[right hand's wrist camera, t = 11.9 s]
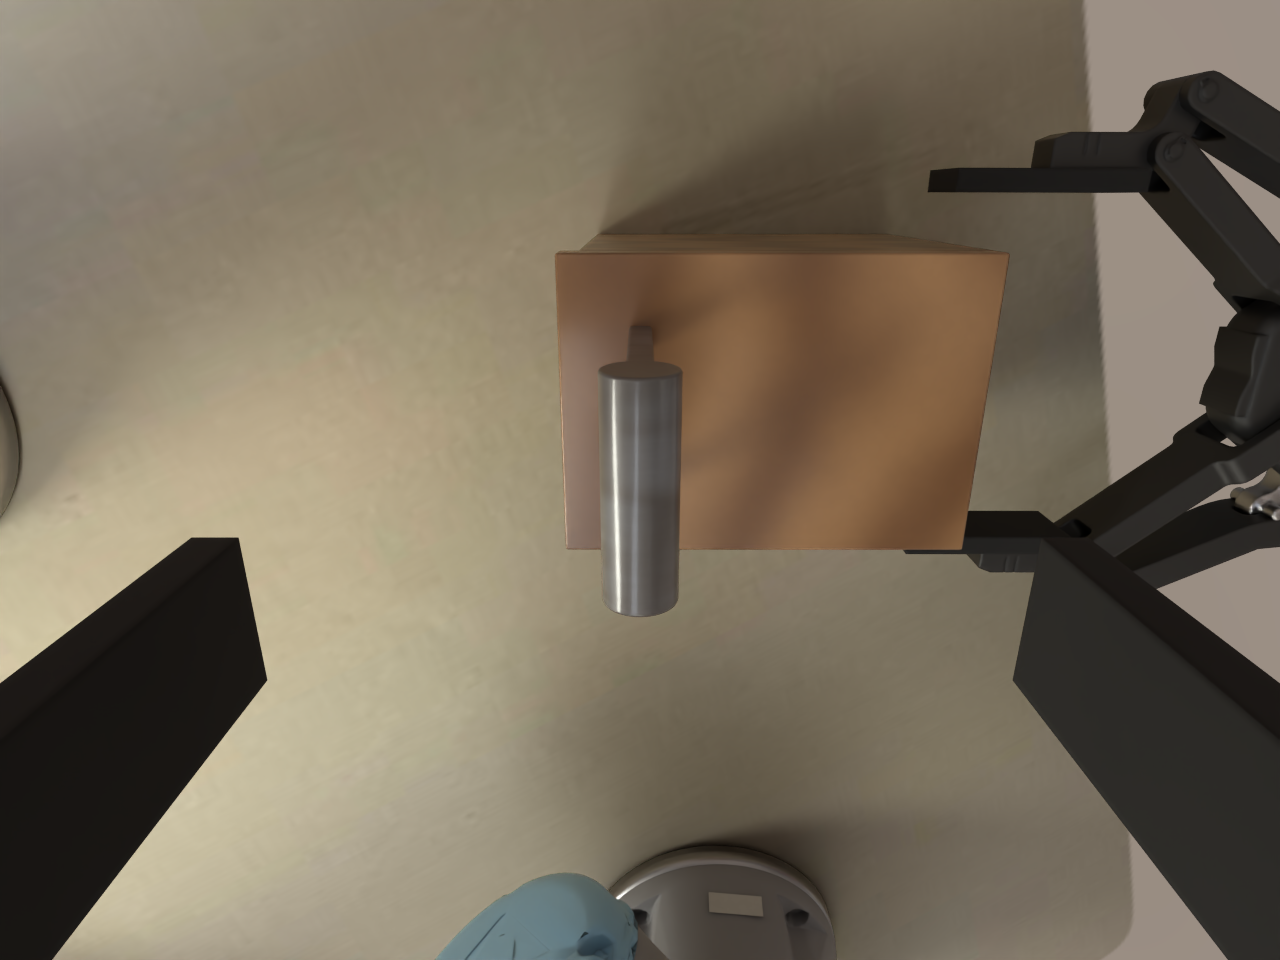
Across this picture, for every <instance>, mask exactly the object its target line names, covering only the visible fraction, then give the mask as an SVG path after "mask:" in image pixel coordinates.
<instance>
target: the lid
mask: <svg viewBox="0 0 1280 960" xmlns="http://www.w3.org/2000/svg"><path fill="white" fill-rule="evenodd" d="M1009 257H1010V255H1009V253H1006V252H999V251H559V252H557V253H556V254H555V271H556V297H557V324H558V351H559V377H560V404H561V431H562V457H563V484H564V510H565V537H566V548H567V549H601V569H602V599H603V602H604V604H605V605H606V606H607V607H608V608H609V609H610V610H612V611H614V612H616V613H619V614H622V615H626V616H633V617H648V616H654V615H658V614H662V613H664V612H666V611H668V610H670V609H671V608H673V607H674V606H675V604H676V603H677V601H678V588H679V549H871V550H960V549H962V545H963V539H964V533H965V527H966V520H967V514H968V508H969V502H970V496H971V490H972V484H973V477H974V471H975V465H976V459H977V453H978V447H979V441H980V435H981V428H982V422H983V416H984V410H985V404H986V398H987V392H988V385H989V379H990V373H991V367H992V361H993V355H994V349H995V343H996V336H997V330H998V324H999V318H1000V312H1001V306H1002V300H1003V293H1004V287H1005V281H1006V275H1007V269H1008V263H1009Z"/></svg>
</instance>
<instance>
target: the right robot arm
mask: <svg viewBox="0 0 1280 960" xmlns="http://www.w3.org/2000/svg"><path fill="white" fill-rule="evenodd" d="M18 464H19V450H18V440H17V433H16V428H15V424H14V420H13V416H12V413H11V410H10V407H9V404H8V402H7V399H6V397H5V395H4V393H3V390H2V388H1V386H0V517H1V515H2V514H3V512H4V511H5V509H6V507H7V505H8V503H9V501H10V499H11V497H12V494H13V491H14V488H15V485H16V480H17V474H18ZM266 681H267V676H266V671H265V666H264V661H263V657H262V652H261V647H260V642H259V637H258V632H257V627H256V622H255V617H254V612H253V607H252V602H251V597H250V592H249V587H248V582H247V577H246V572H245V568H244V563H243V558H242V553H241V548H240V543H239V538H190V539H189V540H188V541H187V542H185V543H184V544H183V545H181V546H180V547H179V548H177V549H176V550H175V551H173V552H172V553H171V554H169V555H168V556H167V557H166V558H164V559H163V560H162V561H160V562H159V563H158V564H156V565H155V566H154V567H152V568H151V569H150V570H148V571H147V572H146V573H144V574H143V575H142V576H141V577H139V578H138V579H137V580H135V581H134V582H133V583H131V584H130V585H129V586H127V587H126V588H125V589H123V590H122V591H121V592H120V593H118V594H117V595H116V596H114V597H113V598H112V599H110V600H109V601H108V602H106V603H105V604H104V605H102V606H101V607H100V608H99V609H97V610H96V611H95V612H93V613H92V614H91V615H89V616H88V617H87V618H85V619H84V620H83V621H81V622H80V623H79V624H78V625H76V626H75V627H74V628H72V629H71V630H70V631H68V632H67V633H66V634H64V635H63V636H62V637H60V638H59V639H58V640H56V641H55V642H54V643H53V644H51V645H50V646H49V647H47V648H46V649H45V650H43V651H42V652H41V653H39V654H38V655H37V656H35V657H34V658H33V659H32V660H30V661H29V662H28V663H26V664H25V665H24V666H22V667H21V668H20V669H18V670H17V671H16V672H14V673H13V674H12V675H11V676H9V677H8V678H7V679H5V680H4V681H3V682H1V683H0V960H52V959H53V958H54V957H55V955H56V954H57V953H58V951H59V950H60V949H61V947H62V946H63V945H64V944H65V942H66V941H67V940H68V938H69V937H70V936H71V934H72V933H73V932H74V931H75V929H76V928H77V927H78V925H79V924H80V923H81V921H82V920H83V919H84V918H85V916H86V915H87V914H88V912H89V911H90V910H91V908H92V907H93V906H94V905H95V903H96V902H97V901H98V899H99V898H100V897H101V896H102V894H103V893H104V892H105V890H106V889H107V888H108V886H109V885H110V884H111V883H112V881H113V880H114V879H115V877H116V876H117V875H118V873H119V872H120V871H121V870H122V868H123V867H124V866H125V864H126V863H127V862H128V860H129V859H130V858H131V857H132V855H133V854H134V853H135V851H136V850H137V849H138V847H139V846H140V845H141V844H142V842H143V841H144V840H145V838H146V837H147V836H148V834H149V833H150V832H151V831H152V829H153V828H154V827H155V825H156V824H157V823H158V821H159V820H160V819H161V818H162V816H163V815H164V814H165V812H166V811H167V810H168V809H169V807H170V806H171V805H172V803H173V802H174V801H175V799H176V798H177V797H178V796H179V794H180V793H181V792H182V790H183V789H184V788H185V786H186V785H187V784H188V783H189V781H190V780H191V779H192V777H193V776H194V775H195V773H196V772H197V771H198V770H199V768H200V767H201V766H202V764H203V763H204V762H205V760H206V759H207V758H208V757H209V755H210V754H211V753H212V751H213V750H214V749H215V747H216V746H217V745H218V744H219V742H220V741H221V740H222V738H223V737H224V736H225V734H226V733H227V732H228V731H229V729H230V728H231V727H232V725H233V724H234V723H235V722H236V720H237V719H238V718H239V716H240V715H241V714H242V712H243V711H244V710H245V709H246V707H247V706H248V705H249V703H250V702H251V701H252V699H253V698H254V697H255V696H256V694H257V693H258V692H259V690H260V689H261V688H262V686H263V685H264V684H265V683H266ZM1013 681H1014V683H1015V684H1016V685H1017V686H1018V688H1019V689H1020V690H1021V692H1022V693H1023V694H1024V696H1025V697H1026V698H1027V699H1028V701H1029V702H1030V703H1031V705H1032V706H1033V707H1034V709H1035V710H1036V711H1037V712H1038V714H1039V715H1040V716H1041V718H1042V719H1043V720H1044V722H1045V723H1046V724H1047V725H1048V727H1049V728H1050V729H1051V731H1052V732H1053V733H1054V734H1055V736H1056V737H1057V738H1058V740H1059V741H1060V742H1061V744H1062V745H1063V746H1064V747H1065V749H1066V750H1067V751H1068V753H1069V754H1070V755H1071V757H1072V758H1073V759H1074V760H1075V762H1076V763H1077V764H1078V766H1079V767H1080V768H1081V770H1082V771H1083V772H1084V773H1085V775H1086V776H1087V777H1088V779H1089V780H1090V781H1091V783H1092V784H1093V785H1094V786H1095V788H1096V789H1097V790H1098V792H1099V793H1100V794H1101V796H1102V797H1103V798H1104V799H1105V801H1106V802H1107V803H1108V805H1109V806H1110V807H1111V809H1112V810H1113V811H1114V812H1115V814H1116V815H1117V816H1118V818H1119V819H1120V820H1121V821H1122V823H1123V824H1124V825H1125V827H1126V828H1127V829H1128V831H1129V832H1130V833H1131V834H1132V836H1133V837H1134V838H1135V840H1136V841H1137V842H1138V844H1139V845H1140V846H1141V847H1142V849H1143V850H1144V851H1145V853H1146V854H1147V855H1148V857H1149V858H1150V859H1151V860H1152V862H1153V863H1154V864H1155V866H1156V867H1157V868H1158V870H1159V871H1160V872H1161V873H1162V875H1163V876H1164V877H1165V879H1166V880H1167V881H1168V883H1169V884H1170V885H1171V886H1172V888H1173V889H1174V890H1175V892H1176V893H1177V894H1178V896H1179V897H1180V898H1181V899H1182V901H1183V902H1184V903H1185V905H1186V906H1187V907H1188V908H1189V910H1190V911H1191V912H1192V914H1193V915H1194V916H1195V918H1196V919H1197V920H1198V921H1199V923H1200V924H1201V925H1202V927H1203V928H1204V929H1205V931H1206V932H1207V933H1208V934H1209V936H1210V937H1211V938H1212V940H1213V941H1214V942H1215V944H1216V945H1217V946H1218V947H1219V949H1220V950H1221V951H1222V953H1223V954H1224V955H1225V957H1226V958H1227V959H1228V960H1280V683H1279V682H1277V681H1276V680H1275V679H1273V678H1272V677H1271V676H1269V675H1268V674H1267V673H1266V672H1264V671H1263V670H1262V669H1260V668H1259V667H1258V666H1256V665H1255V664H1254V663H1252V662H1251V661H1250V660H1248V659H1247V658H1246V657H1245V656H1243V655H1242V654H1241V653H1239V652H1238V651H1237V650H1235V649H1234V648H1233V647H1231V646H1230V645H1229V644H1227V643H1226V642H1225V641H1223V640H1222V639H1221V638H1220V637H1218V636H1217V635H1216V634H1214V633H1213V632H1212V631H1210V630H1209V629H1208V628H1206V627H1205V626H1204V625H1202V624H1201V623H1200V622H1199V621H1197V620H1196V619H1195V618H1193V617H1192V616H1191V615H1189V614H1188V613H1187V612H1185V611H1184V610H1183V609H1181V608H1180V607H1179V606H1178V605H1176V604H1175V603H1174V602H1172V601H1171V600H1170V599H1168V598H1167V597H1166V596H1164V595H1163V594H1162V593H1160V592H1159V591H1158V590H1157V589H1155V588H1154V587H1153V586H1151V585H1150V584H1149V583H1147V582H1146V581H1145V580H1143V579H1142V578H1141V577H1139V576H1138V575H1137V574H1136V573H1134V572H1133V571H1132V570H1130V569H1129V568H1128V567H1126V566H1125V565H1124V564H1122V563H1121V562H1120V561H1118V560H1117V559H1116V558H1114V557H1113V556H1112V555H1111V554H1109V553H1108V552H1107V551H1105V550H1104V549H1103V548H1101V547H1100V546H1099V545H1097V544H1096V543H1095V542H1093V541H1092V540H1091V539H1090V538H1041V543H1040V548H1039V553H1038V558H1037V563H1036V568H1035V572H1034V577H1033V582H1032V587H1031V592H1030V597H1029V602H1028V607H1027V612H1026V617H1025V622H1024V627H1023V632H1022V637H1021V642H1020V647H1019V652H1018V657H1017V661H1016V666H1015V671H1014V676H1013Z"/></svg>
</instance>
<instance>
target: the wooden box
mask: <svg viewBox="0 0 1280 960" xmlns="http://www.w3.org/2000/svg"><path fill="white" fill-rule="evenodd" d="M579 251H993V250H987V249H980V248H974V247H967V246H961V245H954V244H948V243H941V242H935V241H928V240H922V239H915V238H909V237H902V236H896V235H890V234H598V235H597V236H595V237H594V238H593V239H592V240H591V241H590V242H589V243H587V244H586V245H585V246H584V247H583V248H582V249H581V250H579Z"/></svg>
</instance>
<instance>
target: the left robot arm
mask: <svg viewBox="0 0 1280 960" xmlns="http://www.w3.org/2000/svg"><path fill="white" fill-rule="evenodd" d="M1143 106H1144V109H1145V111H1144V113H1143V115H1142V117H1141V119H1140V120H1139V122H1138V123H1137V125H1136V126H1135V127H1134V128H1133V129H1131V130H1130V131H1128V132H1068V133H1061V134H1054V135H1049V136H1047V137H1045V138H1042V139H1040V140H1037V141H1035V147H1034V153H1033V159H1032V165H1031V168H952V169H941V170H931V171H930V178H929V186H928V192H1040V193H1126V192H1139V193H1140V194H1141V195H1142V197H1143V198H1144V199H1145V200H1146V201H1147V202H1148V203H1149V204H1150V206H1151V207H1152V208H1153V209H1154V210H1155V211H1156V212H1157V214H1158V215H1159V216H1160V217H1161V218H1162V219H1163V220H1164V221H1165V223H1166V224H1167V225H1168V226H1169V227H1170V228H1171V229H1172V231H1173V232H1174V233H1175V234H1176V235H1177V236H1178V237H1179V238H1180V239H1181V241H1182V242H1183V243H1184V244H1185V245H1186V246H1187V247H1188V249H1189V250H1190V251H1191V252H1192V253H1193V254H1194V255H1195V257H1196V258H1197V259H1198V260H1199V261H1200V262H1201V263H1202V264H1203V266H1204V267H1205V268H1206V269H1207V270H1208V271H1209V272H1210V274H1211V275H1212V276H1213V277H1214V278H1215V281H1214V283H1213V285H1214V287H1215V288H1216V289H1217V290H1218V291H1219V293H1220V294H1221V295H1222V296H1223V297H1224V298H1225V299H1226V301H1227V302H1228V303H1229V304H1230V305H1231V306H1232V307H1233V308H1234V310H1235V311H1236V312H1237V314H1236V315H1235V316H1234V317H1233V318H1232V320H1231V321H1230V322H1229V324H1228V326H1227V327H1219V331H1218V335H1217V338H1216V342H1215V346H1214V367H1213V370H1212V371H1211V373H1210V375H1209V377H1208V379H1207V380H1206V382H1205V384H1204V387H1203V391H1202V394H1201V398H1200V402H1199V404H1202V405H1204V406H1206V413H1205V414H1203V415H1202V416H1200V417H1199V418H1197V419H1196V420H1194V421H1193V422H1191V423H1190V424H1188V425H1187V426H1185V427H1184V428H1182V429H1181V430H1179V431H1178V432H1177V433H1176V434H1175V435H1174V437H1173V443H1172V444H1171V445H1170V446H1169V447H1167V448H1166V449H1164V450H1163V451H1161V452H1160V453H1158V454H1157V455H1155V456H1154V457H1152V458H1151V459H1149V460H1148V461H1146V462H1145V463H1143V464H1142V465H1140V466H1139V467H1137V468H1136V469H1134V470H1133V471H1131V472H1130V473H1128V474H1127V475H1125V476H1124V477H1122V478H1121V479H1119V480H1118V481H1116V482H1115V483H1113V484H1112V485H1110V486H1109V487H1107V488H1106V489H1104V490H1103V491H1101V492H1100V493H1098V494H1097V495H1095V496H1094V497H1092V498H1091V499H1089V500H1088V501H1086V502H1085V503H1083V504H1082V505H1080V506H1079V507H1077V508H1076V509H1074V510H1073V511H1071V512H1070V513H1068V514H1067V515H1065V516H1064V517H1062V518H1061V519H1059V520H1058V521H1056V522H1055V523H1053V522H1051V521H1050V520H1049V519H1048V518H1046V517H1045V516H1044V515H1042V514H1041V513H1040V512H1039V511H968V514H967V520H966V527H965V533H964V539H963V545H962V549H960V550H903V551H904V552H905V553H906V554H967V555H968V556H969V557H970V558H971V560H972V561H973V562H974V563H975V564H976V565H977V566H978V567H979V568H981V569H983V570H986V571H989V572H1035V568H1036V563H1037V558H1038V553H1039V548H1040V543H1041V538H1090V539H1091V540H1092V541H1093V542H1095V543H1096V544H1097V545H1099V546H1100V547H1101V548H1103V549H1104V550H1105V551H1107V552H1108V553H1109V554H1111V555H1112V556H1113V557H1114V558H1116V559H1117V560H1118V561H1120V562H1121V563H1122V564H1124V565H1125V566H1126V567H1128V568H1129V569H1130V570H1132V571H1133V572H1134V573H1136V574H1137V575H1138V576H1139V577H1141V578H1142V579H1143V580H1145V581H1146V582H1147V583H1149V584H1150V585H1151V586H1153V587H1154V588H1155V589H1157V588H1160V587H1162V586H1165V585H1168V584H1170V583H1173V582H1175V581H1178V580H1180V579H1183V578H1185V577H1188V576H1190V575H1193V574H1195V573H1198V572H1200V571H1203V570H1206V569H1208V568H1211V567H1213V566H1216V565H1218V564H1221V563H1223V562H1226V561H1229V560H1231V559H1233V558H1236V557H1239V556H1241V555H1244V554H1246V553H1249V552H1251V551H1254V550H1256V549H1263V548H1273V547H1280V243H1279V242H1278V241H1277V240H1276V239H1275V238H1274V236H1273V235H1272V234H1271V233H1270V232H1269V230H1268V229H1267V228H1266V227H1265V226H1264V224H1263V223H1262V222H1261V221H1260V220H1259V218H1258V217H1257V216H1256V215H1255V214H1254V212H1253V211H1252V210H1251V209H1250V208H1249V207H1248V205H1247V204H1246V203H1245V202H1244V201H1243V200H1242V198H1241V197H1240V196H1239V195H1238V193H1237V192H1236V191H1235V190H1234V189H1233V188H1232V186H1231V185H1230V184H1229V183H1228V182H1227V180H1226V179H1225V178H1224V177H1223V176H1222V174H1221V173H1220V172H1219V171H1218V170H1217V169H1216V167H1215V166H1214V165H1213V164H1212V163H1211V161H1210V160H1209V159H1208V158H1207V157H1206V155H1205V154H1204V153H1203V152H1202V151H1201V149H1202V150H1204V151H1205V152H1207V153H1208V154H1210V155H1212V156H1213V157H1215V158H1216V159H1218V160H1220V161H1221V162H1223V163H1224V164H1226V165H1227V166H1229V167H1231V168H1232V169H1234V170H1235V171H1237V172H1239V173H1240V174H1242V175H1243V176H1245V177H1246V178H1248V179H1250V180H1251V181H1253V182H1254V183H1256V184H1258V185H1259V186H1261V187H1262V188H1264V189H1266V190H1267V191H1269V192H1270V193H1272V194H1274V195H1275V196H1277V197H1278V198H1280V111H1278V110H1277V109H1275V108H1274V107H1272V106H1271V105H1269V104H1267V103H1266V102H1264V101H1263V100H1261V99H1260V98H1258V97H1257V96H1255V95H1254V94H1252V93H1251V92H1249V91H1248V90H1246V89H1244V88H1243V87H1241V86H1240V85H1238V84H1237V83H1235V82H1234V81H1232V80H1231V79H1229V78H1228V77H1226V76H1225V75H1223V74H1221V73H1220V72H1217V71H1207V72H1203V73H1198V74H1193V75H1189V76H1184V77H1180V78H1175V79H1171V80H1166V81H1162V82H1158V83H1157V84H1155V85H1153V86H1152V87H1151V88H1150V89H1149V90H1148V91H1147V93H1146V96H1145V98H1144V105H1143ZM1225 438H1228V439H1230V440H1231V441H1232V442H1233V443H1234V444H1235V445H1236V446H1235V447H1231V446H1228V445H1225V444H1223V443H1220V442H1221V441H1222V440H1224V439H1225ZM1266 470H1267V472H1266V475H1265V477H1264V478H1263V479H1262V481H1260V482H1259V483H1258V484H1256V485H1254V486H1252V487H1249V488H1246V489H1243V488H1241V487H1238V488H1235V489H1234V490H1233V491H1232V492H1231V494H1230V497H1231V498H1230V499H1223V500H1218V501H1214V502H1210V503H1207V504H1204V505H1201V506H1198V507H1196V508H1194V509H1191V510H1189V509H1190V508H1192V507H1194V506H1195V505H1197V504H1198V503H1200V502H1201V501H1203V500H1204V499H1206V498H1208V497H1209V496H1211V495H1212V494H1214V493H1215V492H1217V491H1218V490H1220V489H1222V488H1223V487H1225V486H1227V485H1231V484H1242V483H1246V482H1248V481H1250V480H1252V479H1254V478H1255V477H1257V476H1259V475H1260V474H1262V473H1263V472H1265V471H1266ZM1187 510H1189V511H1187ZM435 960H837V956H836V946H835V937H834V932H833V928H832V924H831V920H830V917H829V913H828V910H827V907H826V904H825V902H824V900H823V898H822V896H821V895H820V893H819V892H818V890H817V889H816V887H815V886H814V885H813V884H812V883H811V882H810V881H809V880H808V879H807V878H806V877H805V876H804V875H803V874H802V873H800V872H799V871H798V870H796V869H795V868H794V867H792V866H790V865H789V864H787V863H785V862H783V861H781V860H779V859H777V858H775V857H773V856H770V855H767V854H764V853H761V852H758V851H754V850H750V849H745V848H740V847H731V846H700V847H691V848H686V849H681V850H676V851H673V852H669V853H666V854H663V855H660V856H658V857H655V858H653V859H651V860H648V861H646V862H644V863H643V864H641V865H639V866H637V867H636V868H634V869H633V870H631V871H630V872H628V873H627V874H626V875H624V876H623V877H622V878H621V879H620V880H619V881H618V882H617V883H616V884H615V885H614V886H613V887H612V888H611V889H610V890H609V892H608V891H607V890H606V889H605V888H604V887H603V886H602V885H601V884H599V883H598V882H597V881H595V880H593V879H591V878H589V877H587V876H584V875H581V874H575V873H557V874H551V875H547V876H543V877H540V878H537V879H534V880H531V881H529V882H527V883H525V884H523V885H522V886H520V887H519V888H518V889H516V890H515V891H513V892H512V893H510V894H508V895H504V896H502V897H501V898H499V899H498V900H496V901H495V902H493V903H492V904H491V905H490V906H488V907H487V908H486V909H485V910H483V911H482V912H481V913H480V914H478V915H477V916H476V917H475V918H474V919H473V920H472V921H470V922H469V923H468V924H467V925H466V926H465V927H464V928H463V929H462V930H461V931H460V932H459V933H458V934H457V935H456V936H455V937H454V938H453V939H452V941H451V942H450V943H449V944H448V945H447V946H446V947H445V948H444V949H443V951H442V952H441V953H440V954H439V955H438V957H437V958H436V959H435Z"/></svg>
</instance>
